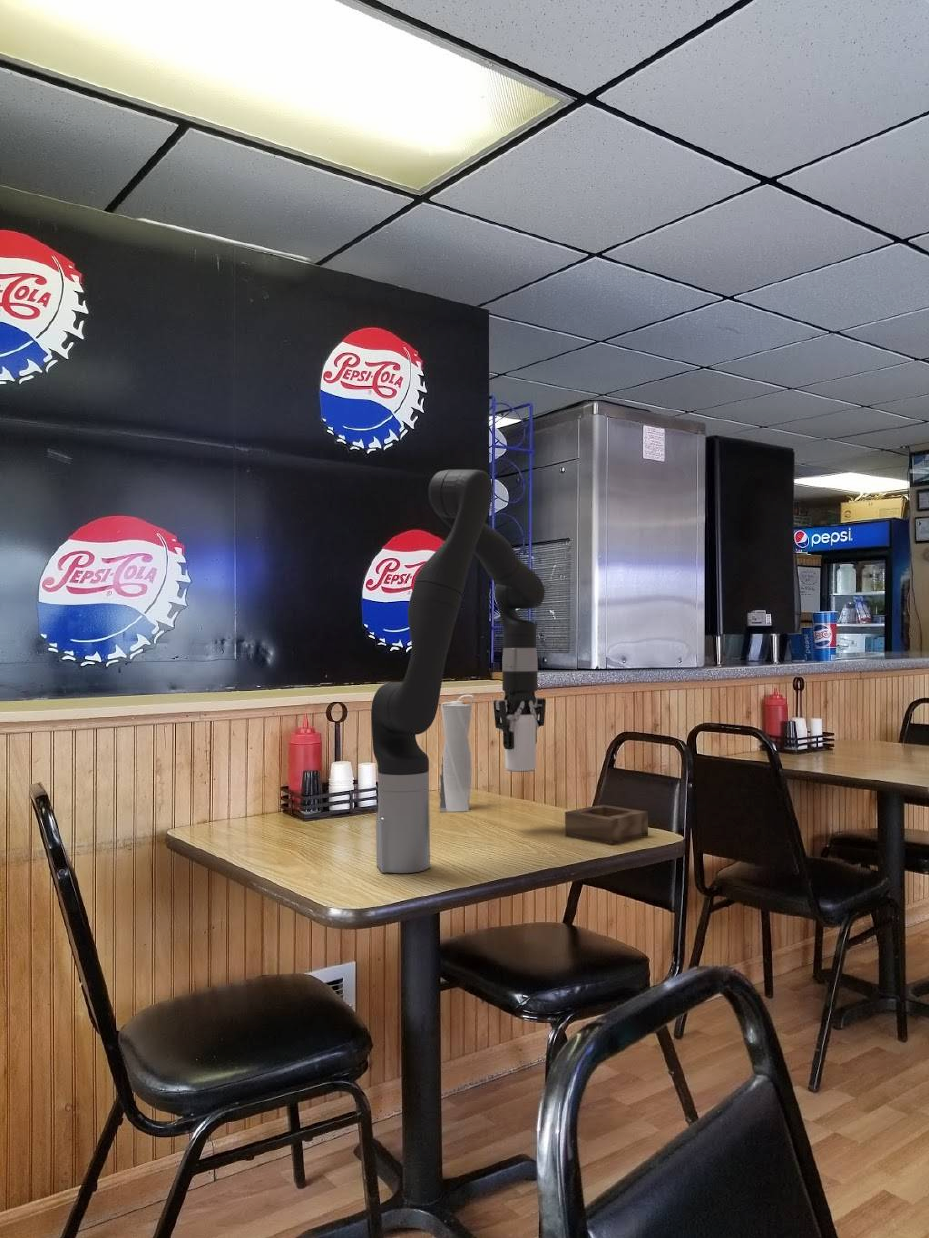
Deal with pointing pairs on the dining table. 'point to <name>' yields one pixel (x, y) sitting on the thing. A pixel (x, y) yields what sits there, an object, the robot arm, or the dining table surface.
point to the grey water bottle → (456, 757)
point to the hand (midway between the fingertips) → (520, 747)
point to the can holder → (606, 824)
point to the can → (522, 745)
